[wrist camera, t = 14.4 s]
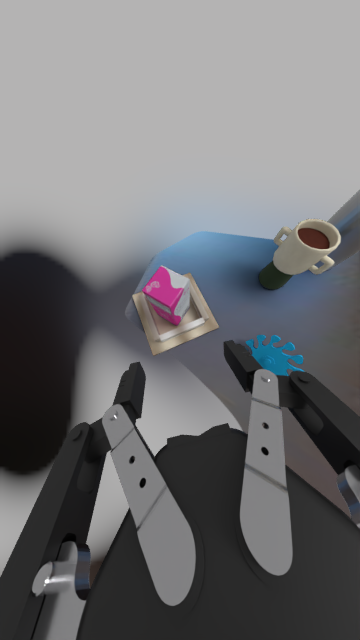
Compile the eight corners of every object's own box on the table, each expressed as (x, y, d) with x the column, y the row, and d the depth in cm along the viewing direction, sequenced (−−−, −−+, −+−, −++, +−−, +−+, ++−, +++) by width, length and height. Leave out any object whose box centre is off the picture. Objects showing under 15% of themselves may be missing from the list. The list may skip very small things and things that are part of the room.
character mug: (296, 287, 33) (363, 243, 21) (276, 303, 32) (333, 267, 20) (263, 259, 36) (304, 206, 24) (244, 273, 35) (276, 225, 23)
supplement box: (169, 295, 33) (161, 263, 22) (190, 307, 32) (192, 279, 21) (156, 314, 32) (140, 289, 21) (177, 327, 30) (172, 308, 19)
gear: (233, 339, 28) (292, 329, 22) (243, 336, 33) (295, 327, 26) (248, 393, 27) (317, 401, 20) (256, 382, 31) (316, 386, 24)
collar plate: (190, 274, 36) (190, 266, 32) (218, 328, 31) (221, 324, 28) (133, 297, 34) (127, 290, 31) (154, 355, 30) (150, 355, 26)
